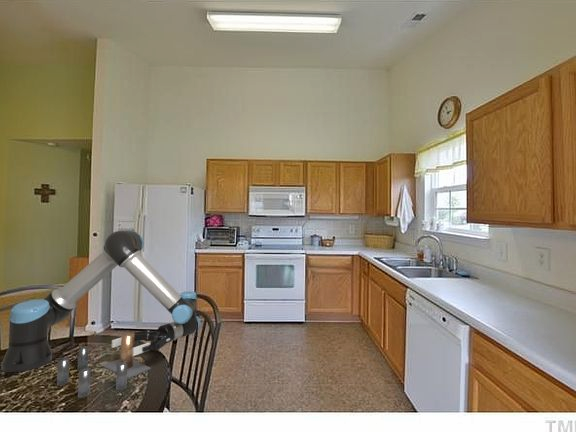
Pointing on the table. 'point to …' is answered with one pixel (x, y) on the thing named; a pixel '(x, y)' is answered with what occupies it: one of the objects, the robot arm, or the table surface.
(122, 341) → the cylinder
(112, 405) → the table surface
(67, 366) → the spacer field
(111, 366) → the rubber mat
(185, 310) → the robot arm
